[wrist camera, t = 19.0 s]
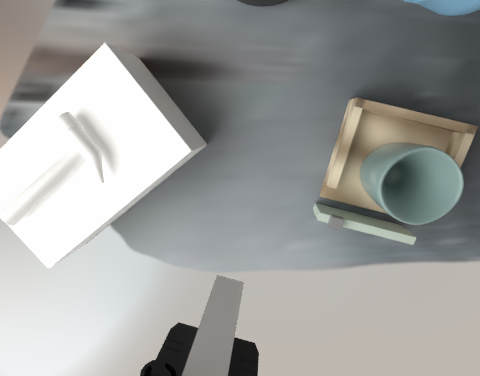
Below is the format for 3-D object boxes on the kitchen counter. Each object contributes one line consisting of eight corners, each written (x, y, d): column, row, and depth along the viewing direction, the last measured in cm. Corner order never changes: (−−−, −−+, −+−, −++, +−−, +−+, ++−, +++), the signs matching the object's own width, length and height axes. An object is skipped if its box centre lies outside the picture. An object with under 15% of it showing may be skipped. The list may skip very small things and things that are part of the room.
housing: (349, 99, 38) (357, 97, 34) (459, 125, 37) (478, 126, 34) (319, 194, 41) (323, 201, 38) (420, 220, 40) (433, 229, 37)
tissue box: (207, 144, 41) (185, 153, 31) (88, 242, 47) (34, 277, 36) (140, 58, 40) (92, 36, 29) (24, 170, 45) (-52, 186, 35)
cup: (428, 171, 38) (482, 190, 28) (378, 210, 40) (412, 240, 30) (389, 126, 37) (431, 129, 27) (339, 168, 39) (362, 184, 29)
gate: (315, 201, 41) (322, 214, 36) (401, 223, 41) (421, 240, 35) (312, 210, 41) (318, 225, 36) (397, 232, 41) (417, 250, 35)
